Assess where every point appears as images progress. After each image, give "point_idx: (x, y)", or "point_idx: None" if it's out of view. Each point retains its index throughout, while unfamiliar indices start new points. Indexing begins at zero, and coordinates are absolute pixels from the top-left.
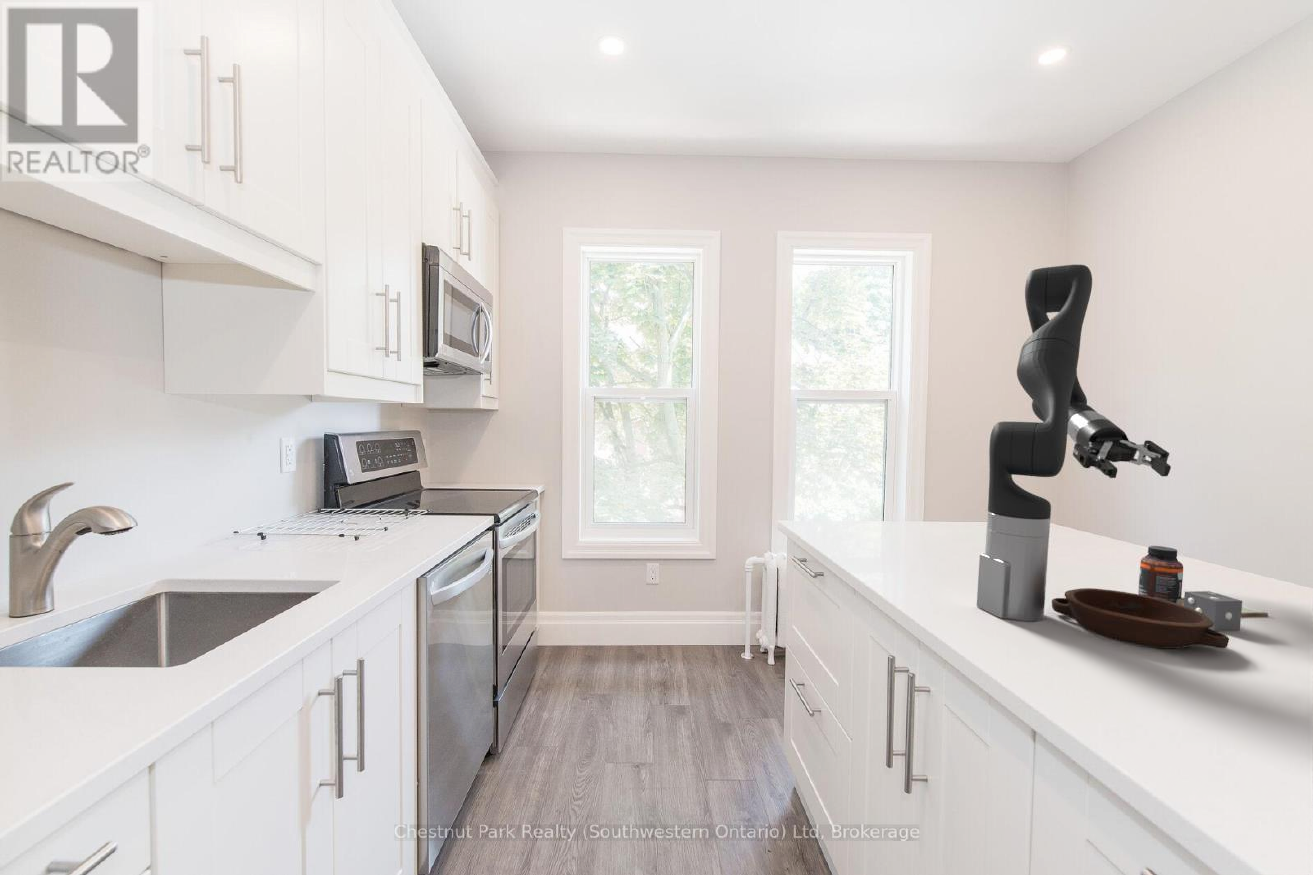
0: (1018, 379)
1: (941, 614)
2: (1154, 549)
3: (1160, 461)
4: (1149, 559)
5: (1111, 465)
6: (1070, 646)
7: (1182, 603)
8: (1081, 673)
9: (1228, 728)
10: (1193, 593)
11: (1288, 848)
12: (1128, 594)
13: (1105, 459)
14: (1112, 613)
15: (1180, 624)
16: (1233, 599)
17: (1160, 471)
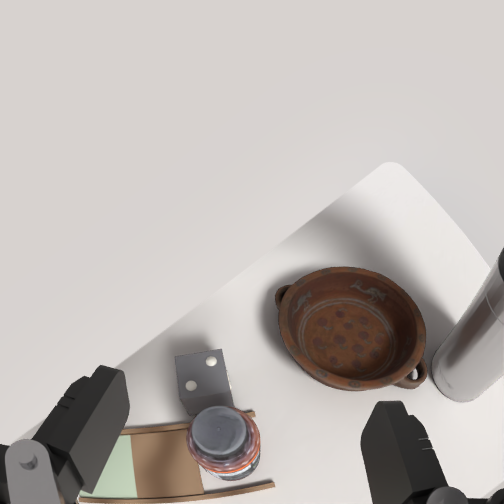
0: None
1: None
2: (244, 422)
3: (84, 409)
4: (252, 432)
5: (403, 425)
6: (422, 291)
7: (164, 479)
8: (423, 248)
9: (365, 206)
10: (224, 382)
11: (385, 164)
12: (333, 374)
13: (423, 488)
14: (395, 283)
15: (338, 267)
16: (182, 361)
17: (117, 419)
